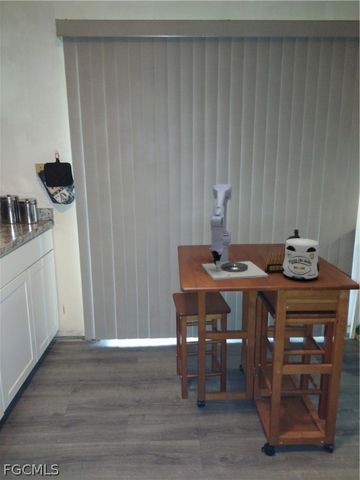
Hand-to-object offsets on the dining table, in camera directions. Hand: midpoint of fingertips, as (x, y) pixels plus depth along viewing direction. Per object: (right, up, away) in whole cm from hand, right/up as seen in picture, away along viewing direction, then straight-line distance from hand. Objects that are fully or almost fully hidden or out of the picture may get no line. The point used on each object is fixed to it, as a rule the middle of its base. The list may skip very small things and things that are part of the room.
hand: (216, 264), depth 195 cm
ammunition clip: (+30, -4, 0) cm, 31 cm away
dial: (+8, -2, +2) cm, 8 cm away
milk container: (+40, -6, -9) cm, 42 cm away
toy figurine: (+49, +3, +32) cm, 59 cm away
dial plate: (+9, -3, +2) cm, 10 cm away
